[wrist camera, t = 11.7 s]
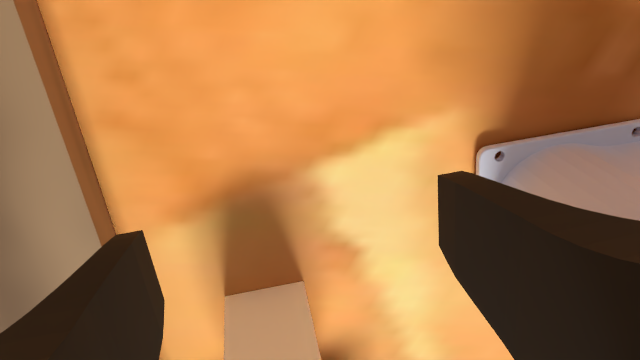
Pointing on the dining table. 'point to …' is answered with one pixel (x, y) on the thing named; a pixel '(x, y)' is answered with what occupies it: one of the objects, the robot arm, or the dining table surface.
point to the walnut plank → (40, 170)
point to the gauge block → (270, 325)
